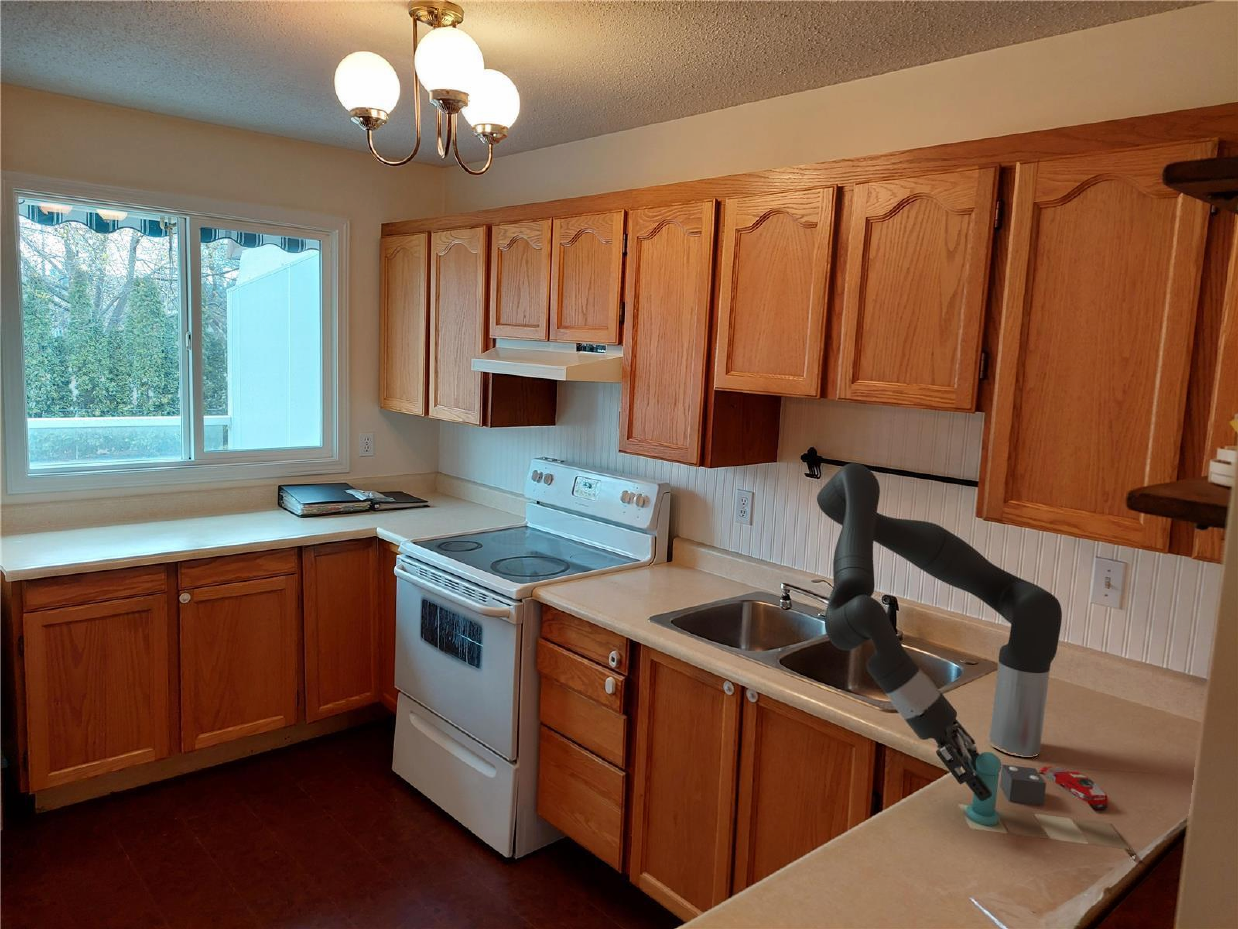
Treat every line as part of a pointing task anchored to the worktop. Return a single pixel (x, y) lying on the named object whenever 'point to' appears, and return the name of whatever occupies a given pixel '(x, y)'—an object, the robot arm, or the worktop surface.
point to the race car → (1078, 786)
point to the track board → (1055, 829)
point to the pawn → (989, 774)
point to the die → (1022, 785)
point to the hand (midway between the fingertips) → (987, 786)
